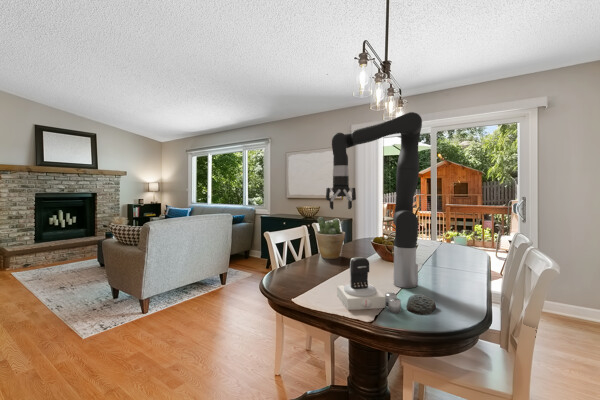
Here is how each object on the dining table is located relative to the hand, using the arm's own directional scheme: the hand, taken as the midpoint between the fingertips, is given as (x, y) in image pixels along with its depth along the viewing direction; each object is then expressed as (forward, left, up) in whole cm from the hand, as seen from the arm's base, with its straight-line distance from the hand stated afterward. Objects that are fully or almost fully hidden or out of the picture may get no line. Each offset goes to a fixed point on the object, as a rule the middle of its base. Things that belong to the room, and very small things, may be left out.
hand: (340, 209), depth 136 cm
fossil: (-18, +38, -34) cm, 54 cm away
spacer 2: (-8, +40, -33) cm, 53 cm away
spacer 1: (-9, +35, -33) cm, 49 cm away
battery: (+1, +30, -28) cm, 41 cm away
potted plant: (-5, -41, -33) cm, 53 cm away
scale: (+1, +30, -33) cm, 45 cm away
